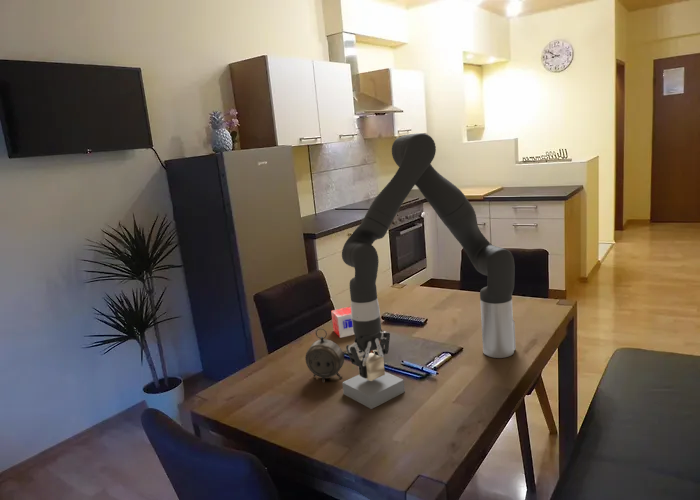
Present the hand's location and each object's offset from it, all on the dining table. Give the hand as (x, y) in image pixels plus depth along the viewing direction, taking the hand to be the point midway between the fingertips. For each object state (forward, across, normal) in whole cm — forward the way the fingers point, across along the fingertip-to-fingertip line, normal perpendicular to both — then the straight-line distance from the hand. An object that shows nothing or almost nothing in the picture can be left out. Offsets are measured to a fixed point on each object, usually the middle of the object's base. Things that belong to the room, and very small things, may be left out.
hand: (372, 373), depth 143 cm
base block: (+6, 0, 0) cm, 6 cm away
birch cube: (0, 0, 0) cm, 0 cm away
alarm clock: (+6, -4, +17) cm, 18 cm away
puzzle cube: (+6, +23, +42) cm, 48 cm away
